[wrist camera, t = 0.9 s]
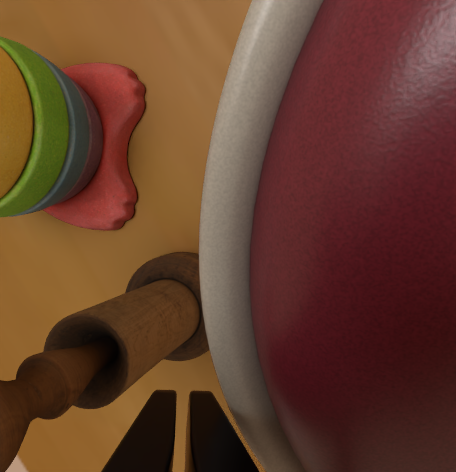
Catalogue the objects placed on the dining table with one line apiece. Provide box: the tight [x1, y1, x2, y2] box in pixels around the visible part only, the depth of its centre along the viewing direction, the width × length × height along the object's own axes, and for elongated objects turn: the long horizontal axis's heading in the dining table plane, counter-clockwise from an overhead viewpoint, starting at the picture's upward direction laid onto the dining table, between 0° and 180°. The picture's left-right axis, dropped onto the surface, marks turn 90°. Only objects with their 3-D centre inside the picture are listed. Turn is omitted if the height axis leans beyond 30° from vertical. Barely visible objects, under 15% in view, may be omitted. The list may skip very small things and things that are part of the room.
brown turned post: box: [0, 252, 209, 472], centre depth 19 cm, size 7×6×18 cm
